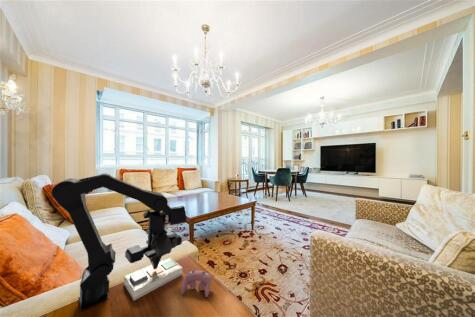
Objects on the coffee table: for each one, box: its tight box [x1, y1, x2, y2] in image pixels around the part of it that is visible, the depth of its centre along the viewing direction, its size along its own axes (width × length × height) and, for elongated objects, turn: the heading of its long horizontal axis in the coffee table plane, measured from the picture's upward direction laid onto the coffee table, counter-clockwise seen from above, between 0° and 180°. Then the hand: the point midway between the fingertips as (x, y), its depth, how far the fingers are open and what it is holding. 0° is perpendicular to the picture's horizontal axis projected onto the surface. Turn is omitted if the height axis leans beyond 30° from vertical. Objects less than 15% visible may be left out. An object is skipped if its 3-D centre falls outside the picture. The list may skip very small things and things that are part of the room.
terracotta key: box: [146, 266, 163, 277], centre depth 64 cm, size 4×4×2 cm
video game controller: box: [180, 269, 212, 298], centre depth 60 cm, size 10×5×7 cm, turn 85°
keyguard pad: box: [123, 256, 183, 301], centre depth 64 cm, size 17×10×3 cm, turn 139°
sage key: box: [161, 260, 176, 270], centre depth 68 cm, size 4×4×2 cm
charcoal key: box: [130, 270, 148, 286], centre depth 60 cm, size 4×4×2 cm
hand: (155, 268), depth 64 cm, fingers closed
